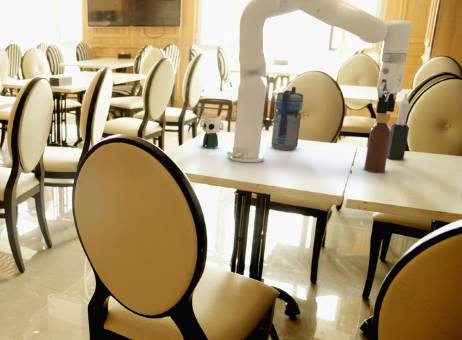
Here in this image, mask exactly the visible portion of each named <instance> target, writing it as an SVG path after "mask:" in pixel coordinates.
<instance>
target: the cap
mask: <svg viewBox="0 0 462 340" xmlns="http://www.w3.org/2000/svg"><path fill="white" fill-rule="evenodd" d="M390 119H391V112H387V113H386V114H382V113H376V117H375V122H376V123H377V122H379V123H388V124H390Z"/></svg>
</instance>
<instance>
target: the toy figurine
mask: <svg viewBox="0 0 462 340" xmlns="http://www.w3.org/2000/svg"><path fill="white" fill-rule="evenodd" d="M199 127H200V128H202V131H203V132H204V135H203V140H202V147H204V148H208V149H215V148H217V147H218V146H219V138H218V137H219V136H218V133H220V132H221V131H224V129H225V123H224V122H223V121H222V116H221V115H215V114H214V115H213V114H207V115H204V116H203V118H202V119H200V122H199Z"/></svg>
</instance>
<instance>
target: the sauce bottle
mask: <svg viewBox="0 0 462 340" xmlns="http://www.w3.org/2000/svg"><path fill="white" fill-rule="evenodd" d="M388 124H389V123H379V122H376V123H375V124H374V126H373V127H371V128H370V131H369V137H368V142H367V148H366V155H365V161H364V167H363V169H364V171H366V172H371V173H377V174H379V173H380V174H382V173H385V171H386V165H387V161H388V160H387V159H388V158H387V154H388V149H389V143H390V137H391V127H390V125H388Z"/></svg>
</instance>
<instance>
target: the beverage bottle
mask: <svg viewBox="0 0 462 340" xmlns="http://www.w3.org/2000/svg"><path fill="white" fill-rule="evenodd" d="M303 103H304V94H303V93H299V92H297V88H296V86H291V90H289V89H286V90H284V91H283V92H278V93H277V95H276V99H275V103H274V104H275V105H274V106H275V108H276V111H275V112H274V116H273V117H274V118H273V125H272V135H271V143H270V144H271V146H272V148H274V149H276V150H281V151H293V150H296V149H297V147H298V145H299V144H298V143H299V136H300V135H299V134H300V127H301V119H302V113H301V112H300V111H301V110H302V109H303V105H304V104H303Z"/></svg>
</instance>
